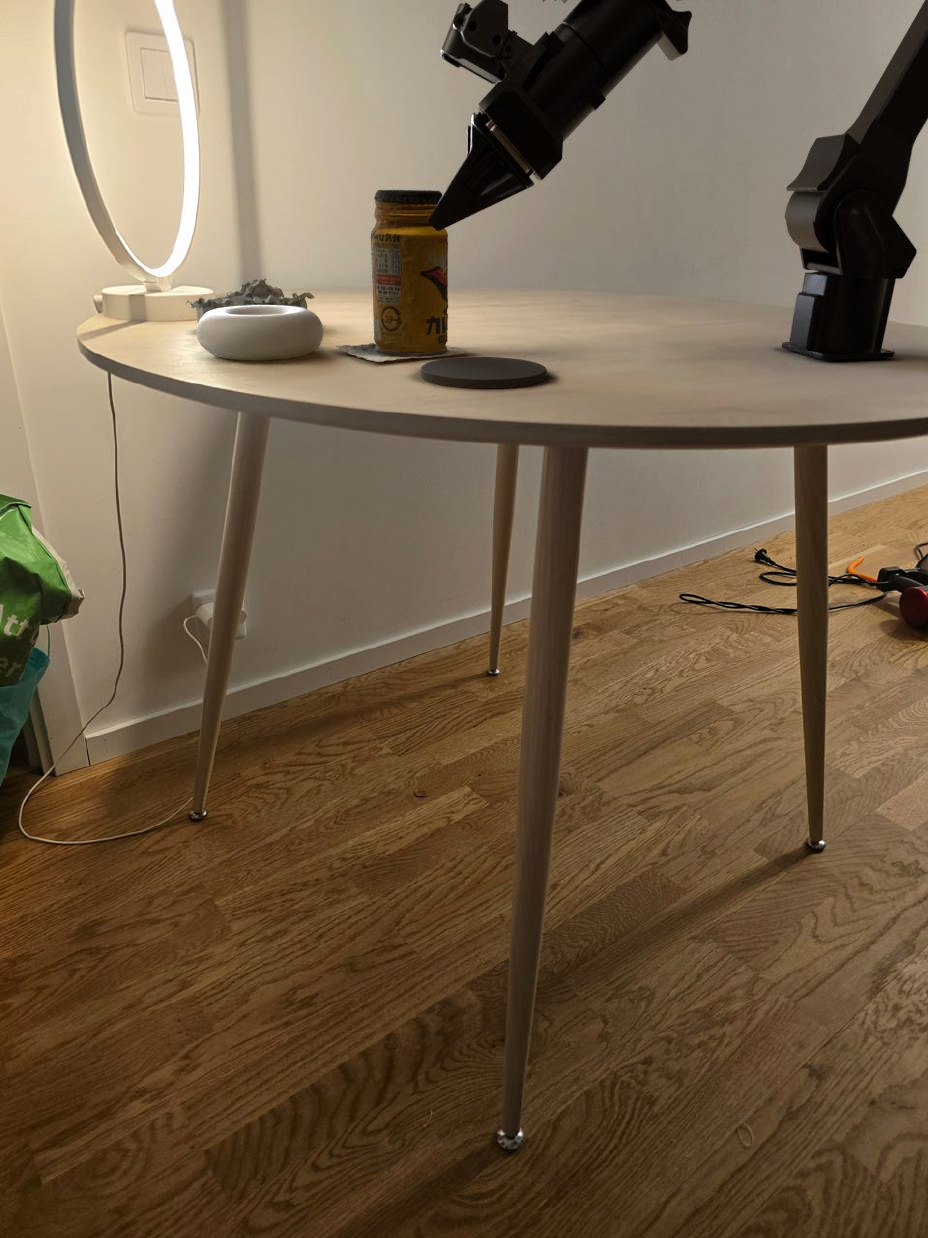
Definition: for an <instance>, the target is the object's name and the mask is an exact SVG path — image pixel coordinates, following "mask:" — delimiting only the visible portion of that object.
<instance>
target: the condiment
mask: <svg viewBox="0 0 928 1238" xmlns="http://www.w3.org/2000/svg"><path fill="white" fill-rule="evenodd" d="M442 196H443V192H441V191H440V190H432V189H431V190H430V189H429V190H425V189H377V191H376V192H375V195H374V197H373V199H374V204H375V207H374V214H373V216H374V219H375V220H376V221H375V224H374V226H373V229H372V230H371V232H370V255H371V256H370V257H371V261H370V262H371V285H372V291H371V292H372V317H373V318H372V319H373V320H372V321H373V340H374V342H370V343H366V344H358V345H357V344H356V345H354V344H353V345H351V344H343V345H335V346H334V348H337V349H339V350H340V351H342V352H344V353H347V354H349V355H353V356H354V357H355V356H356V357H357V359H359V358H363V359H365V360H368V361H372V362H376V363H378V362H384V361H395V360H400V359H401V360H404V359H405V360H407V359H411V358H413V359H424V358H425V359H426V358H436V357H447V356H449V357H450V356H453V355H454V356H455V355H456V356H458V355H465V354H467V353H468V351H467V350H462V349H459V348H458V349H455V348H451V347H448V346H447V345H446V344H447V343H448V341H449V340H448V339H449V337H448V332H449V331H448V330H449V327H448V325H449V323H448V321H449V313H448V309H449V292H448V288H449V284H448V283H449V277H448V276H449V273H448V272H449V263H448V262H449V234H448V231H447V228H445V229H443V230H440V231H436V230H435V229H434V228H433V227H432V225H431V224H430V223H429V221H428V219H429V217H430V215H431V214H432V212H433V210H434V209H435V207H436V206H437V204H438V202H439V201H440V199H441V198H442Z"/></svg>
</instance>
